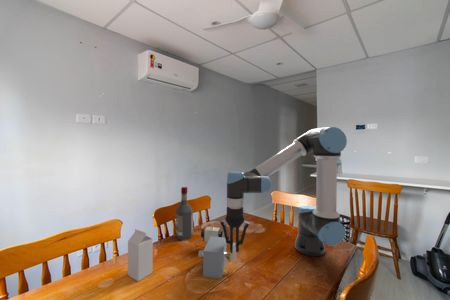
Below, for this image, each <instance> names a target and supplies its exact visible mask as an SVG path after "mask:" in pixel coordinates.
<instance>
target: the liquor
mask: <svg viewBox="0 0 450 300" xmlns="http://www.w3.org/2000/svg"><path fill="white" fill-rule="evenodd" d="M180 188H181V189H180V193H181V195H180V196H181V200H180V204H179V205H178V206H177V207H176V208H175V231H174V232H175V233H174V234H175V237H176V238H177V240H178V241H179V240H180V241H185V240H189V239H191V238H193V234H194V210H193V208H192V206H190V204H189V203H188V187H187V186H182V187H180Z"/></svg>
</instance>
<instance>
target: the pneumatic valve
mask: <svg viewBox="0 0 450 300" xmlns="http://www.w3.org/2000/svg"><path fill="white" fill-rule="evenodd" d="M210 237H224V238H225V235H224V231H223V229H222V227H216V226H205V227H204V228H203V229H201V231H200V238H202V241H203V242H205V243H206V242H208V240H209V238H210Z"/></svg>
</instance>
